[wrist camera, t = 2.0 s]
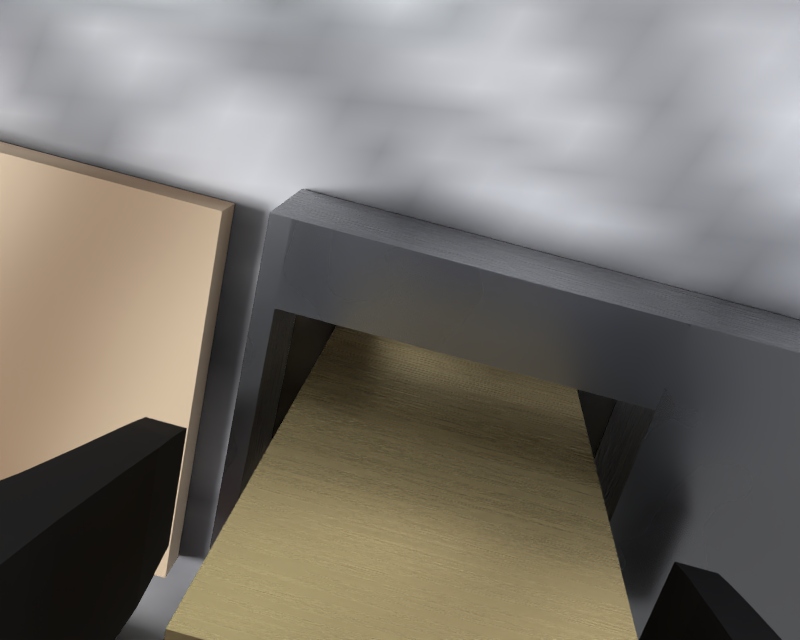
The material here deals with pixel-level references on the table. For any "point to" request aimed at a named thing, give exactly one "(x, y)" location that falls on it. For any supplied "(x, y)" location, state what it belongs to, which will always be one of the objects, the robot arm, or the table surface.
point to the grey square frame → (565, 381)
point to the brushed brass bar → (415, 512)
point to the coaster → (103, 308)
